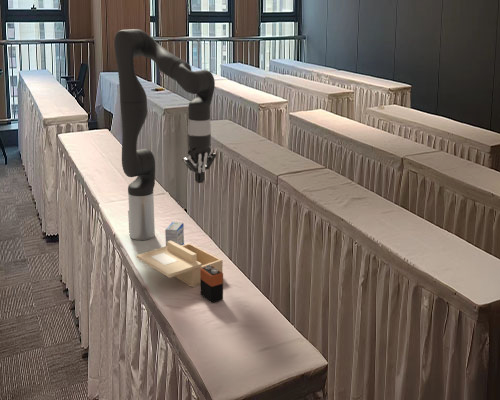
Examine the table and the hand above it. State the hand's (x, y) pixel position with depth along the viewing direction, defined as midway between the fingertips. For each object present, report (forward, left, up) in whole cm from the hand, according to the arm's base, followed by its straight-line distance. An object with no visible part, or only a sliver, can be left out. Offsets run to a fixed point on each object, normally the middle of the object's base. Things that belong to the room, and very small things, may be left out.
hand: (199, 182), depth 213 cm
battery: (+27, -16, -27) cm, 42 cm away
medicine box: (-11, -3, -27) cm, 30 cm away
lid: (+9, -19, -21) cm, 30 cm away
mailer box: (+9, -10, -27) cm, 30 cm away
